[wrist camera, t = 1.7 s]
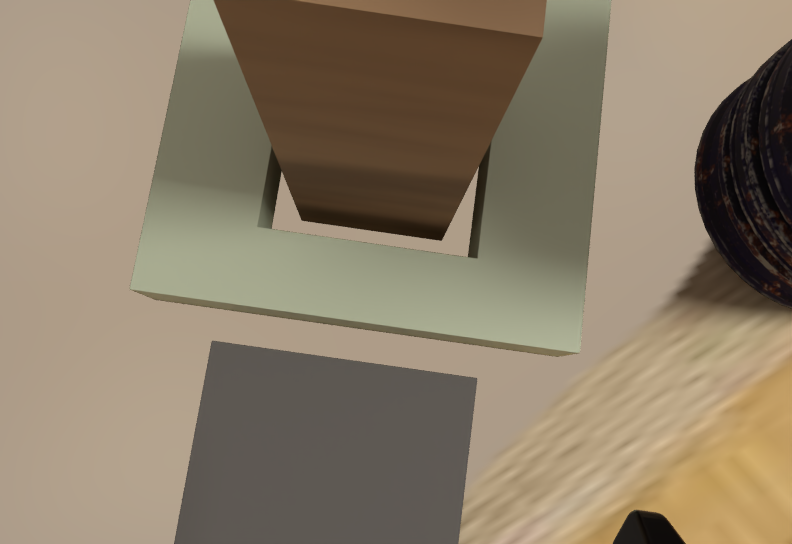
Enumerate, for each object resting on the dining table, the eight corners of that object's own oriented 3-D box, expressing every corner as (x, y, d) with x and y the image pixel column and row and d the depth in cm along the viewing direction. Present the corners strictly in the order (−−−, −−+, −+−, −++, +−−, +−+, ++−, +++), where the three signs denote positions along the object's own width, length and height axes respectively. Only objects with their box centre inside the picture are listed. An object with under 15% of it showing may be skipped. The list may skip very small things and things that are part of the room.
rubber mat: (442, 660, 21) (444, 666, 21) (162, 622, 21) (158, 627, 21) (475, 378, 23) (477, 378, 23) (214, 341, 23) (211, 340, 22)
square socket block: (557, 356, 23) (579, 353, 21) (155, 299, 23) (129, 288, 20) (596, -55, 26) (620, -101, 23) (238, -110, 26) (224, -162, 23)
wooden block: (441, 240, 24) (542, 37, 10) (301, 220, 24) (208, -14, 10) (458, 109, 25) (573, -246, 11) (323, 89, 24) (266, -294, 11)
